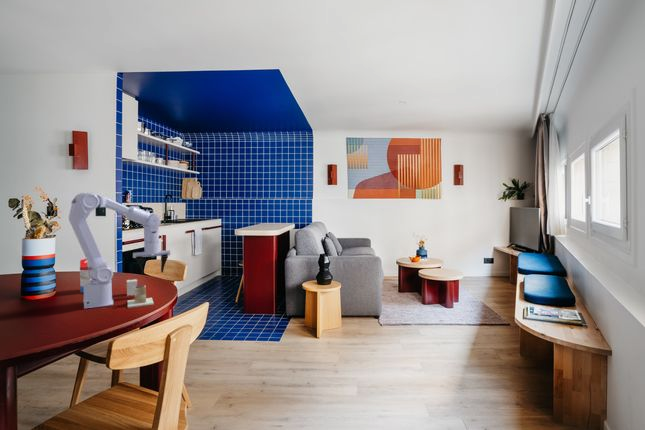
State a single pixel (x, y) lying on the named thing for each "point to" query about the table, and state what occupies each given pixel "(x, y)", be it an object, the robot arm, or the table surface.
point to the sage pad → (132, 303)
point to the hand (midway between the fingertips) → (152, 273)
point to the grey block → (131, 286)
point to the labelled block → (140, 294)
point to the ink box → (84, 274)
